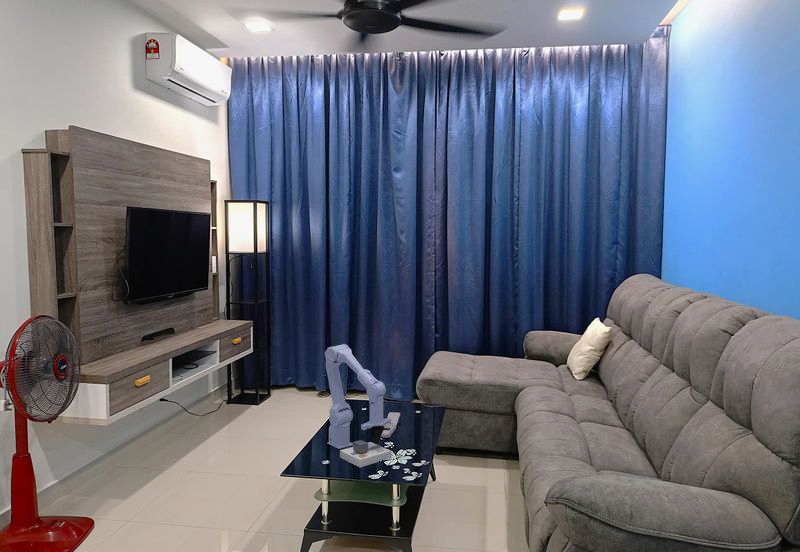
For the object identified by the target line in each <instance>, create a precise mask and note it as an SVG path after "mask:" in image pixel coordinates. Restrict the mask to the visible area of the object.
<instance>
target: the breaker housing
mask: <svg viewBox="0 0 800 552" xmlns="http://www.w3.org/2000/svg"><path fill="white" fill-rule="evenodd" d="M367 443H368V452H364V453H361V454H360V453H358V452H356V451H353V446H352V447H351V446H350V447H346V448H342V449H339V458H340V459H342V460H343V461H346V462H348V463H350V464H353V465H354V466H357V467H358V468H363V467H366V466H370V465H372V464H377V463H379V461H380V462H382V460H383V461H386V460H389V459H391V458H392V450H391V449H388V448H385V447H383V446H381V445H379V444H375V443H374V442H371V441H369V442H367ZM388 458H389V459H388ZM385 459H386V460H385Z"/></svg>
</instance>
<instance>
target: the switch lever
mask: <svg viewBox="0 0 800 552" xmlns="http://www.w3.org/2000/svg"><path fill="white" fill-rule="evenodd" d="M352 443H353V445H352V447H353V451H356V452H358V453H360V454H361V453H364V452H368V443H369V442H367V441H365V440H362V439H359V440H355V441H353V442H352Z"/></svg>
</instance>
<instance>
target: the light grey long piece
mask: <svg viewBox="0 0 800 552" xmlns="http://www.w3.org/2000/svg"><path fill="white" fill-rule="evenodd" d="M400 416H401V412H388V414H387V418H390V419H391V424H389V423H388V424H384V425H383V426H384V427H385V429H384V431H383V433H382V435H381V438H384V439H385V438H386V439H387V438H390V437H391V436H392V435H393V433H395V430H396V429H397V425H398V422H399V419H400Z"/></svg>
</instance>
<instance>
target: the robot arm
mask: <svg viewBox="0 0 800 552" xmlns="http://www.w3.org/2000/svg"><path fill="white" fill-rule="evenodd" d="M324 357H325V370H326V375H327V378H328V379H327V381H328V386H329V391H330V397H331V401H332V405H331V406H330V408H329V410H328V411H329V416H328V417H329V419H328V420H329V422H330V425H329V426H328V442H327V444H328V445H330V446H332V447H334V448H336V449H339V450H342V449H346V448H349V447H351V446H352V447H353V442H351V441H350V435H351V434H350V424H351V421H352V420H354V419H353V418H354V413H353V410H352V409H351V406H350V404H349V403H347V402H346V400H345V399H346V398H345V394H344V389H343V382H342V378H341V373H340V368H339V367H340V365H341V364H342V363H345V364H346V365H347V366H348V367H349V368H350V369H351V370H352V371H353V372H354V373H355V374H356V375H357V380H358V381H359V382H360V384H361V385H362V386H363V388H364V389H366V394H367V396H368V401H369V421H367V422H365V423H362V424H361V425H360V428H361V429H360V430H363V431H366V430H368V431H369V432H370V435H371V438H372V441H373V443H374V444H377V445H379V444H380V442H381V438H382V437H381V435H382V433H383V431H384V429H385V427H384V425H385V424H388V423H389V424H391V419H390V418H388V417H387V418H384V395H385V394H386V391H387V387H386V385H385V384H384V383H385V382H383V381H381V380H379V379H376V377H374V375H373V374H372V372H371V370H368V369H365V368H363V366H362V364H360V362H359V361H358V360H357V358H356V357H355V356H354V355H353V353H352V349H351V348H350V347H349V345H347V344H346V343H343V344H339V345H335V346H334V345H333V346H330V347H329V346H328V347H327V349H326V350H325V352H324Z"/></svg>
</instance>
